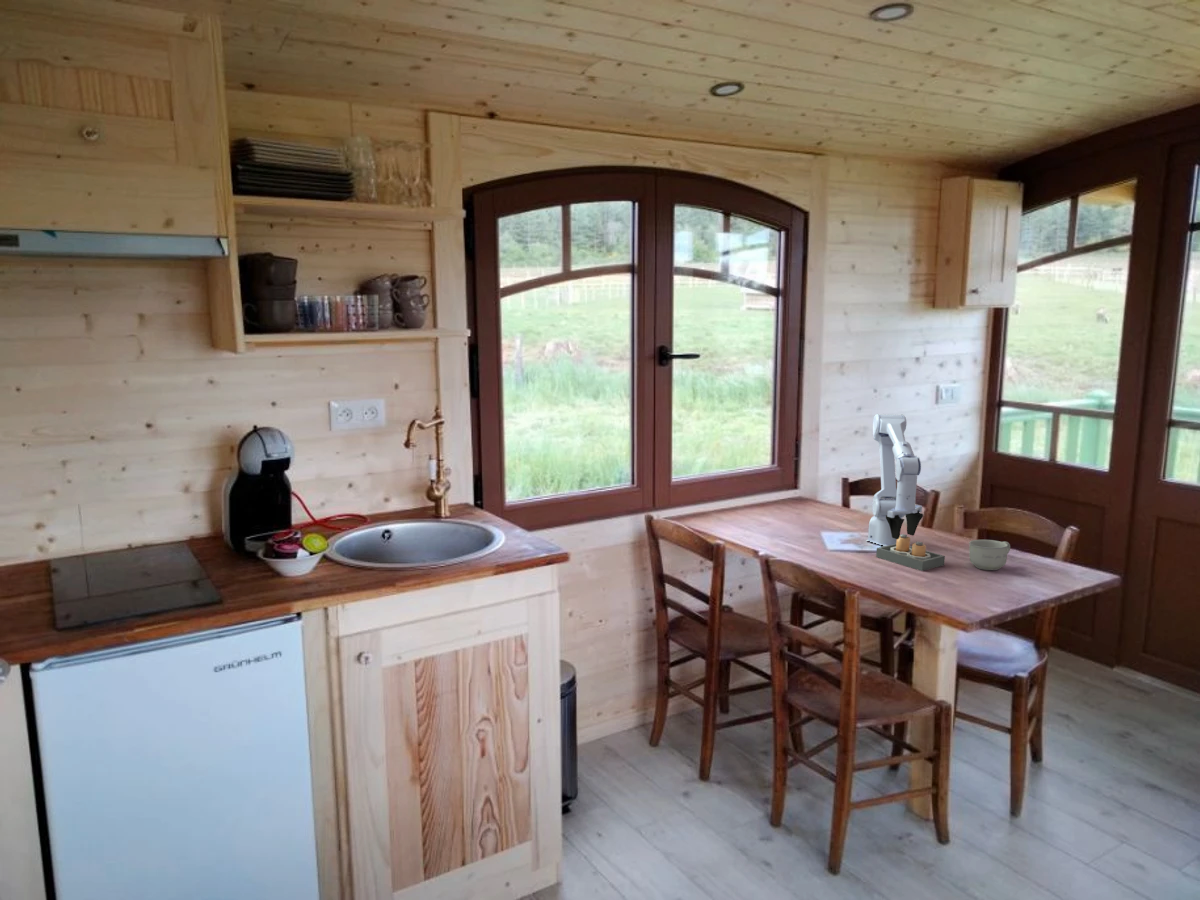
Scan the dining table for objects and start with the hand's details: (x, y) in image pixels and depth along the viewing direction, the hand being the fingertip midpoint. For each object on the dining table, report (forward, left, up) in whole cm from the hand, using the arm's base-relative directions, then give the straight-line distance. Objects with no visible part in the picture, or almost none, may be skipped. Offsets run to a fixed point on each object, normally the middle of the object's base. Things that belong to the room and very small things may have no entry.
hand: (903, 536), depth 263 cm
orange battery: (0, 0, -6) cm, 6 cm away
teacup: (+21, +16, -8) cm, 27 cm away
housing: (+3, 0, -7) cm, 8 cm away
